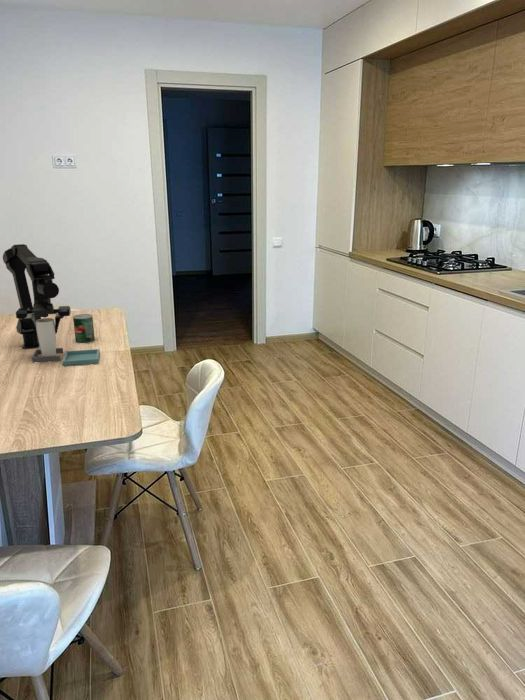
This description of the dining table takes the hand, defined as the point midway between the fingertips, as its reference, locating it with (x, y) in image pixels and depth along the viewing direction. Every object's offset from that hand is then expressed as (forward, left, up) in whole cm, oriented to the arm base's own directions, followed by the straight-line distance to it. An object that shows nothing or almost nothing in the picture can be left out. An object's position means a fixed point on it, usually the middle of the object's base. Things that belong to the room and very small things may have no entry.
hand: (46, 333), depth 198 cm
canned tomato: (-20, +12, -10) cm, 25 cm away
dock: (0, 0, -10) cm, 10 cm away
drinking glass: (0, 0, -10) cm, 10 cm away
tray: (+6, +12, -10) cm, 17 cm away
